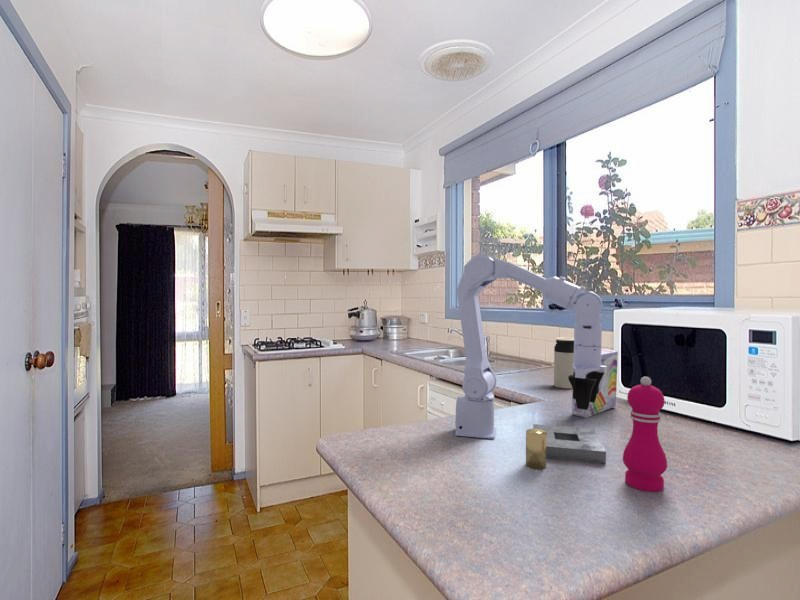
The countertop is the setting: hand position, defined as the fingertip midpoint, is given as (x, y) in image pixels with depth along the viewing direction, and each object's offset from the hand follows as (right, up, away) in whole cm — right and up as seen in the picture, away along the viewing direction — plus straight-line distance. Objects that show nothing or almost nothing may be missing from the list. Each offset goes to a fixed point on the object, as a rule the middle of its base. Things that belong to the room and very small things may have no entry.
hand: (586, 405), depth 103 cm
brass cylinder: (-14, -10, -10) cm, 20 cm away
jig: (-4, -10, +1) cm, 11 cm away
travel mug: (+19, -9, +66) cm, 69 cm away
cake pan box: (+15, -10, +32) cm, 37 cm away
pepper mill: (+3, -11, -19) cm, 22 cm away
